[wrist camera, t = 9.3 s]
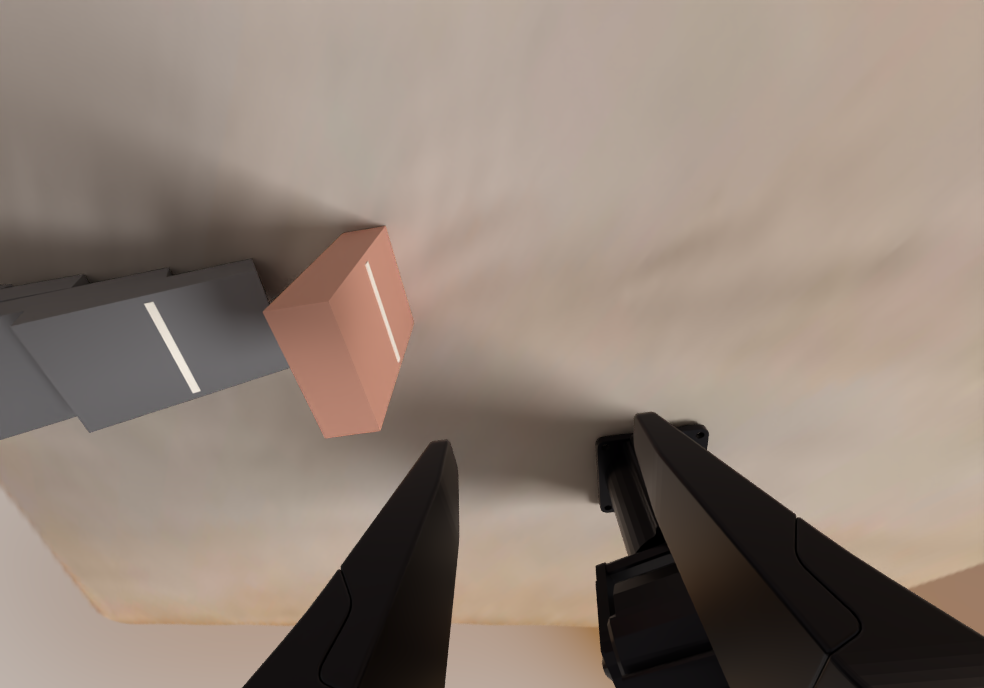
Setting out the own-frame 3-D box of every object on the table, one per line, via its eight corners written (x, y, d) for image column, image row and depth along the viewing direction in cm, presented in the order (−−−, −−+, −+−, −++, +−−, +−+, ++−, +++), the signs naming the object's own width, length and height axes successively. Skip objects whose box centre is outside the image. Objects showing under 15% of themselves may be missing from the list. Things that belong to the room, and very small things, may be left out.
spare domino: (415, 322, 22) (381, 430, 15) (375, 328, 22) (323, 438, 15) (386, 225, 19) (330, 301, 12) (341, 233, 19) (261, 311, 12)
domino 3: (212, 374, 21) (-4, 441, 18) (212, 356, 22) (14, 414, 19) (165, 280, 18) (-98, 337, 15) (168, 267, 20) (-69, 316, 17)
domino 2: (292, 367, 21) (89, 433, 17) (286, 349, 22) (99, 407, 19) (255, 270, 18) (9, 326, 15) (252, 258, 20) (28, 306, 16)
